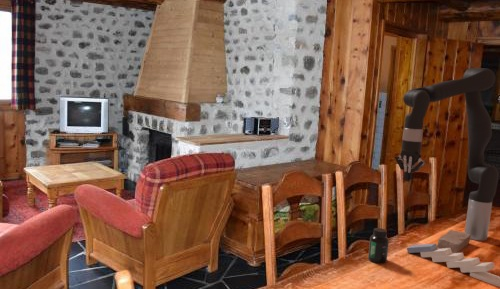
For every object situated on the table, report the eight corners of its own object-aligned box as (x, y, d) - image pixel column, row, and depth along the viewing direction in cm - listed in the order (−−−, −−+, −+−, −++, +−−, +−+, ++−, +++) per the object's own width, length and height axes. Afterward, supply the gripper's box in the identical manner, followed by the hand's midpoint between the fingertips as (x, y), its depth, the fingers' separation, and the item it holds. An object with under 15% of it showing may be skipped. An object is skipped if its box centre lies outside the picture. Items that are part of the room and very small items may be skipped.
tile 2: (426, 249, 179) (450, 247, 171) (427, 254, 178) (452, 253, 171) (420, 252, 175) (444, 250, 168) (421, 257, 175) (445, 256, 168)
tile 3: (437, 254, 175) (463, 252, 168) (439, 259, 175) (464, 258, 167) (431, 257, 172) (456, 255, 164) (432, 262, 172) (458, 261, 164)
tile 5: (467, 263, 166) (493, 262, 158) (469, 269, 166) (495, 267, 158) (459, 267, 163) (485, 265, 155) (461, 272, 163) (487, 271, 155)
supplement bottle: (371, 263, 167) (374, 233, 165) (365, 256, 174) (368, 226, 172) (389, 264, 168) (392, 233, 166) (382, 256, 175) (385, 227, 173)
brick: (456, 254, 181) (458, 243, 181) (435, 248, 187) (437, 237, 186) (469, 244, 193) (471, 234, 193) (449, 239, 199) (451, 228, 198)
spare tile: (412, 245, 183) (436, 243, 176) (414, 250, 183) (437, 248, 176) (406, 247, 180) (430, 246, 172) (408, 253, 179) (431, 251, 172)
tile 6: (476, 268, 164) (505, 278, 156) (475, 273, 164) (504, 284, 157) (470, 271, 161) (499, 282, 153) (469, 277, 161) (499, 288, 154)
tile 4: (453, 259, 170) (478, 257, 162) (455, 264, 170) (480, 263, 162) (446, 262, 167) (471, 260, 159) (447, 267, 167) (472, 266, 159)
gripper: (392, 137, 185) (388, 178, 188) (422, 142, 175) (418, 185, 178) (402, 136, 190) (397, 176, 193) (432, 141, 180) (427, 183, 183)
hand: (407, 180), depth 185 cm, fingers closed
